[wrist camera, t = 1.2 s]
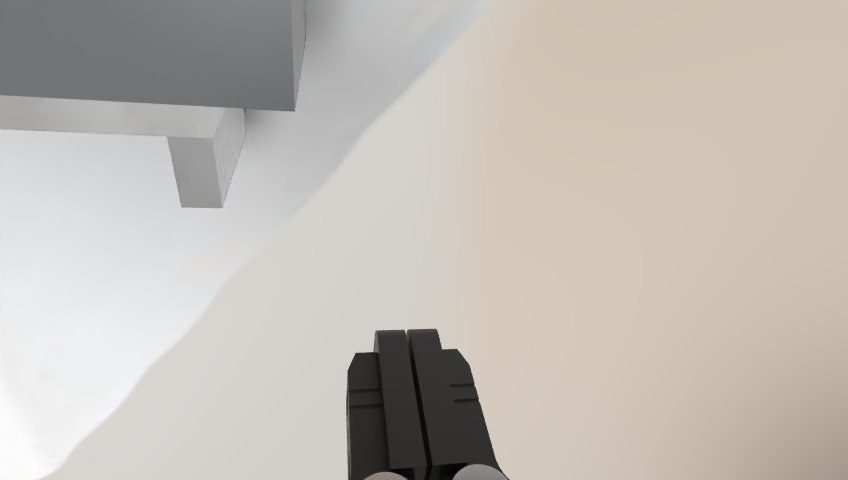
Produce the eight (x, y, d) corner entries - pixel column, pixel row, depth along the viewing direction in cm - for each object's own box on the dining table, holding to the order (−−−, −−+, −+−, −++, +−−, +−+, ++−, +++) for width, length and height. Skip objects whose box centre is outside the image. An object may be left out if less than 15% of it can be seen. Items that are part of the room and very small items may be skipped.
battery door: (-14, 28, 21) (-140, 87, 15) (237, 47, 22) (207, 106, 17) (22, 122, 23) (-75, 202, 17) (246, 133, 25) (222, 208, 19)
